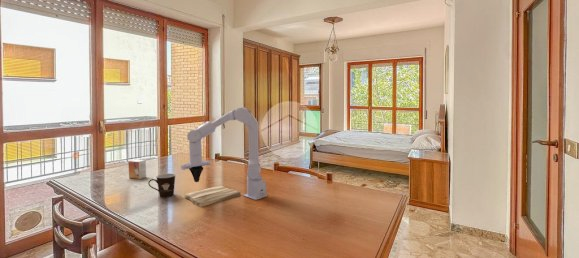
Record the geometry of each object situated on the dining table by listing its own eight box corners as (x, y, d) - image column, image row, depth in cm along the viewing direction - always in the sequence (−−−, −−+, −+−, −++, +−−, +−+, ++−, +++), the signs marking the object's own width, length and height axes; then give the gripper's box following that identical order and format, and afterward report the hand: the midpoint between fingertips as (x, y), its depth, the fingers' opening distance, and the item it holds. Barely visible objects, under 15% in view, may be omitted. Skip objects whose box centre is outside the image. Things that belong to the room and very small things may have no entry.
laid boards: (240, 195, 146) (240, 191, 146) (200, 206, 130) (200, 203, 130) (232, 192, 151) (232, 189, 150) (192, 203, 134) (192, 199, 134)
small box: (128, 178, 178) (127, 161, 176) (136, 175, 183) (135, 159, 182) (139, 179, 175) (138, 161, 174) (146, 176, 181) (145, 160, 179)
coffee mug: (179, 192, 149) (178, 173, 148) (170, 198, 141) (169, 178, 140) (157, 192, 151) (156, 173, 150) (147, 197, 142) (146, 177, 141)
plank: (229, 191, 151) (229, 188, 150) (193, 201, 136) (193, 198, 136) (220, 188, 156) (220, 185, 156) (184, 197, 141) (184, 194, 141)
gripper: (204, 151, 150) (205, 177, 152) (177, 155, 140) (178, 183, 141) (212, 153, 145) (212, 179, 147) (184, 157, 135) (185, 186, 136)
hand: (196, 181), depth 144 cm, fingers closed
